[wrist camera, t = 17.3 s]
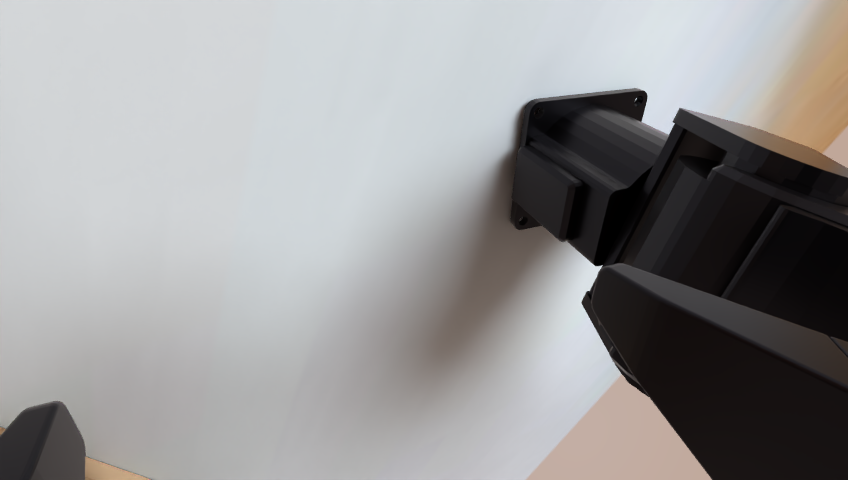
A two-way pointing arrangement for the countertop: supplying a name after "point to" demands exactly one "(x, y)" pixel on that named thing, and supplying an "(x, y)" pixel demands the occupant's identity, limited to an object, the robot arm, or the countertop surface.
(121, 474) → the pine board
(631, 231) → the robot arm
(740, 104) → the countertop surface
